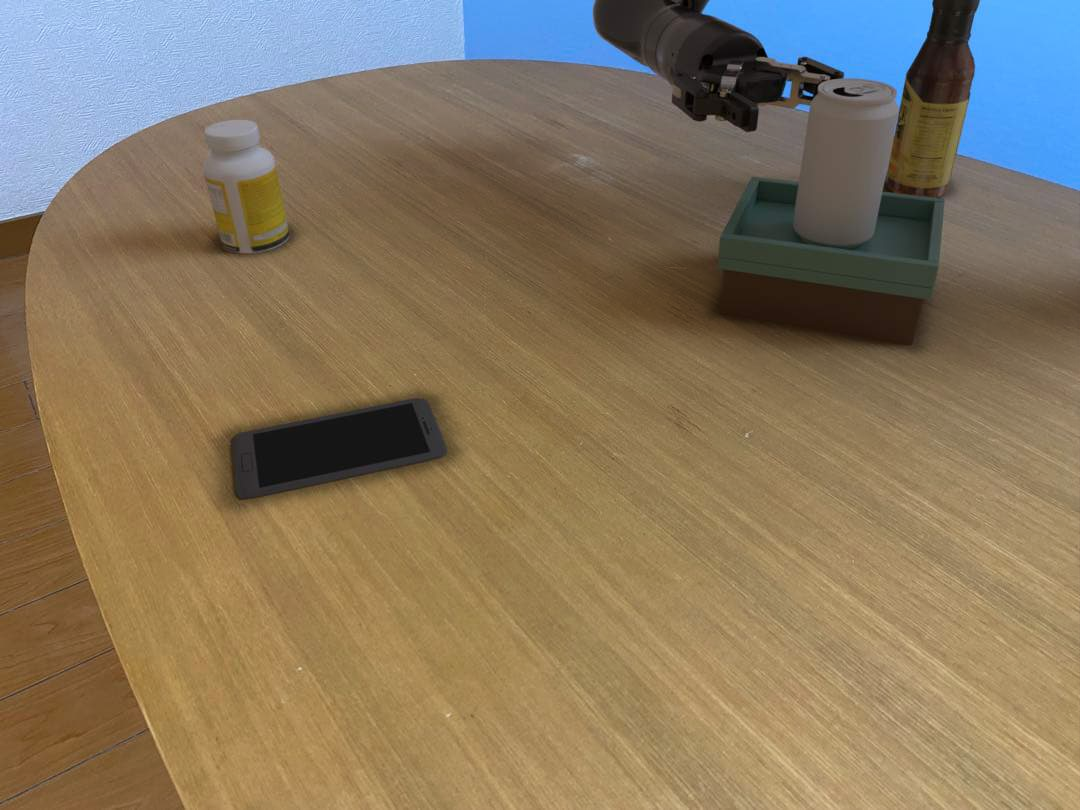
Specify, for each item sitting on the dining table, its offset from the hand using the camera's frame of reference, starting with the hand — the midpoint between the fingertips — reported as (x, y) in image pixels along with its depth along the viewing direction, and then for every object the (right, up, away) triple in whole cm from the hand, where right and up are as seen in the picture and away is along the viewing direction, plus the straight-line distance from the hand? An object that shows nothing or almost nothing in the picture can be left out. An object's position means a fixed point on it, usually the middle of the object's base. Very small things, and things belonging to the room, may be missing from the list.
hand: (800, 113), depth 77 cm
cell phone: (-35, -27, -13) cm, 46 cm away
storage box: (+3, -15, +3) cm, 16 cm away
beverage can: (+2, -10, 0) cm, 11 cm away
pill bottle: (-49, -8, +15) cm, 52 cm away
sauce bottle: (+18, -2, +22) cm, 28 cm away
